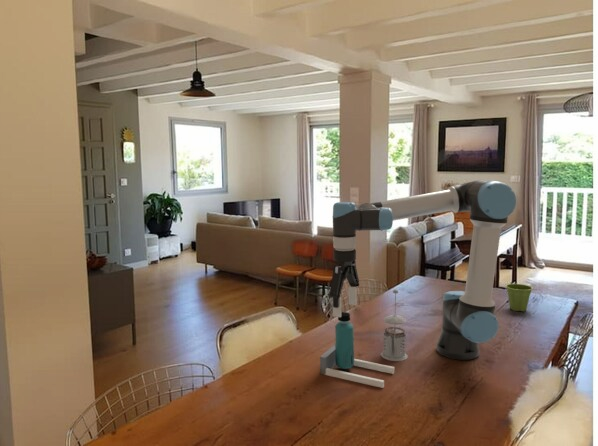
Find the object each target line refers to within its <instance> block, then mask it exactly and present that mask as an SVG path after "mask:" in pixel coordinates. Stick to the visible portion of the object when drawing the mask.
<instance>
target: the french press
mask: <svg viewBox="0 0 598 446" xmlns="http://www.w3.org/2000/svg"><path fill="white" fill-rule="evenodd" d="M392 293H393V294H395V295H394V313H396V307H397V306H396V305H397V304H396V303H397V302H396V301H397V294H399V291H398V289H393V290H392ZM383 321H384V323H387V324H389V325H395V326H389V327H386V328H385V329H384V333H383V337H384V338H383V350H382V352H381V353H380V356H381V357H382V358H383V359H385V360H387V361H390V362H391V361H392V362H402V361H405V360H407V359H408V354H407V353H406V350H405V349H406V337H407V336H406V333H405V329H404V328H401V327H396V325H397V326H398V325H402V324H405V323H406V322H407V319H406V318H405V317H403V316H401V315H398V314H390V315H386V316H385V317H384V318H383Z"/></svg>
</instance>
